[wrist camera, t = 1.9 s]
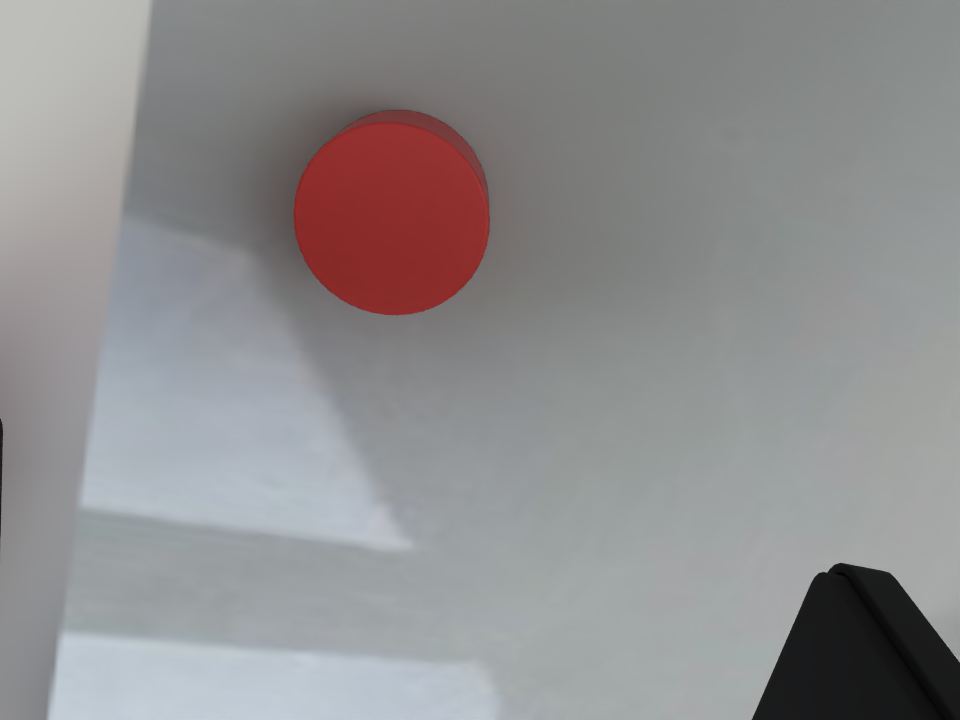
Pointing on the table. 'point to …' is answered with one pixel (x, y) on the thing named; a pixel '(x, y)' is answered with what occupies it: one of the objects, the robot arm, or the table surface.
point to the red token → (393, 213)
